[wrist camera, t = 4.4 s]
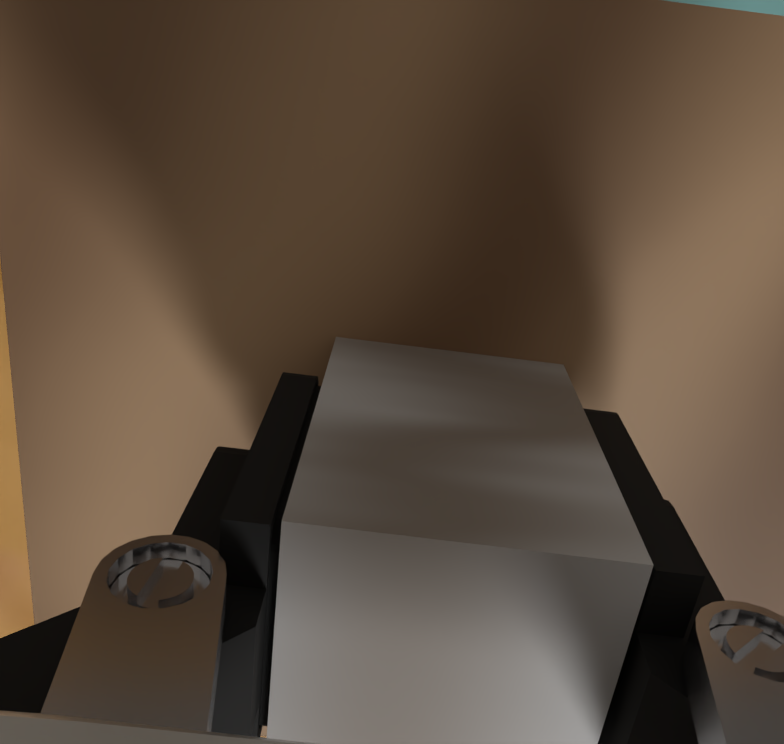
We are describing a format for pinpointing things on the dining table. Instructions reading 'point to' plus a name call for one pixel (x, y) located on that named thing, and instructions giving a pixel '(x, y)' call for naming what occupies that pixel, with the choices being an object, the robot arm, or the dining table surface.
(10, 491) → the dining table surface
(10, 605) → the dining table surface
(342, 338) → the walnut cover
